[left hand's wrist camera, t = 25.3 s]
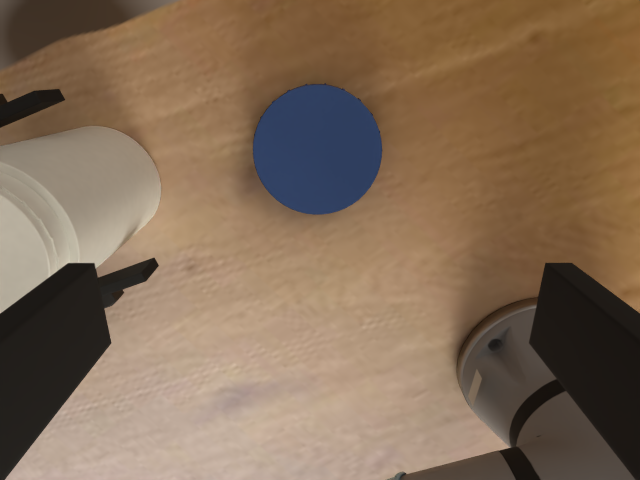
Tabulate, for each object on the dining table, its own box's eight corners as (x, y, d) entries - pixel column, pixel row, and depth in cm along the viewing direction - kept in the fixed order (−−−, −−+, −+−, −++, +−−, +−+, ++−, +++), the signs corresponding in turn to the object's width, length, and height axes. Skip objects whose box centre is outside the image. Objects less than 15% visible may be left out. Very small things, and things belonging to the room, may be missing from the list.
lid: (231, 132, 35) (225, 136, 33) (335, 55, 33) (336, 54, 31) (302, 228, 38) (301, 237, 36) (401, 164, 36) (406, 170, 34)
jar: (177, 158, 36) (81, 218, 21) (140, 251, 39) (35, 358, 24) (64, 104, 34) (-123, 128, 20) (36, 205, 37) (-145, 291, 23)
